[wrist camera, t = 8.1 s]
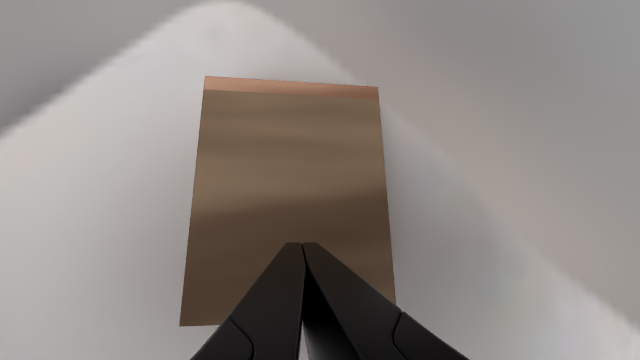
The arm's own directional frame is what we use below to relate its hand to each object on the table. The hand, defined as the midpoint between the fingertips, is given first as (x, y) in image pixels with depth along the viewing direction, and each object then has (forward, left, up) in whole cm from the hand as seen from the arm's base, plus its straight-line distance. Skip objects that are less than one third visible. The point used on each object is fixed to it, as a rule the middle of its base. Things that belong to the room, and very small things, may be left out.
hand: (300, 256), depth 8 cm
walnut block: (-2, +1, -5) cm, 5 cm away
